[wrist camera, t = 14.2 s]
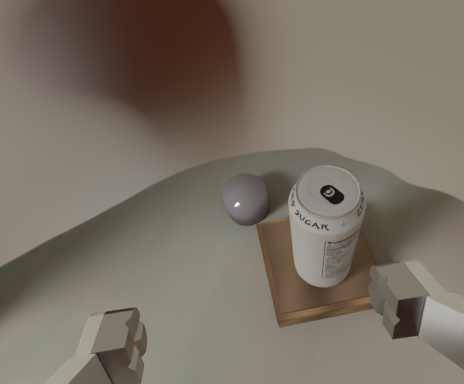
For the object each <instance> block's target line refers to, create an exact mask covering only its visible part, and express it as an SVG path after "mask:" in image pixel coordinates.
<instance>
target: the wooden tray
mask: <svg viewBox="0 0 464 384" xmlns="http://www.w3.org/2000/svg"><path fill="white" fill-rule="evenodd" d="M256 226H257V231H258V235H259V240H260V245H261V249H262V254H263V258H264V263H265V267H266V272H267V277H268V281H269V286H270V290H271V295H272V299H273V304H274V309H275V313H276V318H277V322H278V325H279V328H280V327H285V326H290V325H294V324H299V323H304V322H309V321H314V320H319V319H324V318H329V317H334V316H339V315H344V314H349V313H354V312H359V311H363V310H368V309H373V306H372V304H371V301H370V298H369V293H368V285H369V283H370V282H371V281H372V279H371V277H370V275H369V273H370V268H371V266H376V263H375V261H374V259H373V256H372V254H371V252H370V249H369V247H368V244H367V242H366V240H365V237H364V235H363V233H362V230H360V233H359V237H358V240H357V244H356V248H355V251H354V255H353V259H352V262H351V266H350V270H349V273H348V274H347V276H346V278H345V279H344V280H343V281H342V282H340V283H339V284H337V285H334V286H331V287H317V286H314V285H311V284H309V283H307V282H306V281H305V280H303V279H302V278H301V277H300V275H299V274H298V272H297V270H296V268H295V265H294V256H293V246H292V236H291V226H290V217H288V218H283V219H279V220H274V221H270V222H266V223H261V224H257V225H256Z"/></svg>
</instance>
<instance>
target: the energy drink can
mask: <svg viewBox="0 0 464 384" xmlns="http://www.w3.org/2000/svg"><path fill="white" fill-rule="evenodd" d="M288 206H289V216H290V226H291V236H292V246H293V256H294V265H295V268H296V270H297V272H298V274H299V275H300V277H301V278H302V279H303V280H305V281H306V282H307V283H309V284H311V285H314V286H317V287H331V286H334V285H337V284H339V283H340V282H342V281H343V280H344V279H345V278H346V276H347V274H348V273H349V270H350V266H351V262H352V259H353V255H354V251H355V248H356V244H357V240H358V237H359V233H360V230H361V226H362V222H363V219H364V215H365V211H366V199H365V195H364V193H363V191H362V189H361V188H360V185H359V183H358V180H357V179H356V178H355V176H354V175H352V174H351V173H350V172H349V171H347V170H345V169H343V168H341V167H338V166H333V165H321V166H316V167H313V168H311V169H309V170H307V171H306V172H304V173H303V174H302V175H301V176H300V178H299V179H298V181H297V183H296V184H295V185H294V187H293V188H292V190H291V192H290V195H289V199H288Z"/></svg>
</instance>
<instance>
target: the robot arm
mask: <svg viewBox="0 0 464 384" xmlns="http://www.w3.org/2000/svg"><path fill="white" fill-rule="evenodd" d="M369 275H370V277H371V279H372V281H371V282H370V283H369V285H368V293H369V298H370V301H371V304H372V306H373V308H374V310H375V311H376V312H377V313H379V314H380V315H382V316H383V321H382V323H383V325H384V326H385V328H386V330H387V331H388V333H389V335H390V336H391V338H392V339H399V338H406V337H413V336H418V337H419V338H420V339H422V340H423V341H425V342H426V343H427V344H429V345H430V346H432V347H433V348H434V349H436V350H437V351H439V352H440V353H441V354H443V355H444V356H446V357H447V358H448V359H450V360H451V361H453V362H454V363H455V364H457V365H458V366H460V367H461V368H462V369H464V297H462V296H460V295H458V294H456V293H454V292H447V291H446V290H445V289H444V288H443V287H442V286H441V285H440V284H439V283H438V281H437V280H436V279H435V278H434V277H433V276H432V275H431V274H430V273H429V272H428V271H427V269H426V268H425V267H424V266H423V265H422V264H421V263H420V262H419V261H418V260H417V259H409V260H404V261H400V262H393V263H387V264H382V265H376V266H371V268H370V273H369ZM139 318H140V313H139V311H138V309H137V308H136V307H133V308H126V309H119V310H113V311H106V312H101V313H94V314H91V315H90V317H89V318H88V320H87V323H86V326H85V329H84V331H83V334H82V337H81V340H80V343H79V345H78V348H77V351H76V354H75V356H74V357H72V358H69V359H68V360H67V361H66V362H65V363H64V364H63V365H62V366H61V367H60V368H59V369H58V370H57V371H56V372H55V373H54V374H53V375H52V376H51V377H50V378H49V379H48V380H47V381H46V382H45V383H44V384H141V381H142V374H143V368H144V363H143V361H142V358H141V357H142V356H143V355H144V354H145V352H146V348H147V334H146V329H145V326H144V323H142V322H140V321H139Z"/></svg>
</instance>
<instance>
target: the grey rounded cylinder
mask: <svg viewBox="0 0 464 384" xmlns="http://www.w3.org/2000/svg"><path fill="white" fill-rule="evenodd" d="M222 197H223V201H224V203H225V206H226V208H227V211H228V213H229V216H230V217H231V219H232V220H233V221H234V222H236V223H238V224H240V225H245V226H249V225H254V224H257V223H259V222H260V221H262V220H263V219H264V218H265V217H266V215H267V214H268V211H269V200H268V194H267V189H266V185H265V183H264V182H263V180H262V179H261V178H259V177H258V176H255V175H252V174H241V175H238V176H235V177H233V178H232V179H230V180H229V181H228V182H227V183H226V184H225V186H224V188H223V191H222Z"/></svg>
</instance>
